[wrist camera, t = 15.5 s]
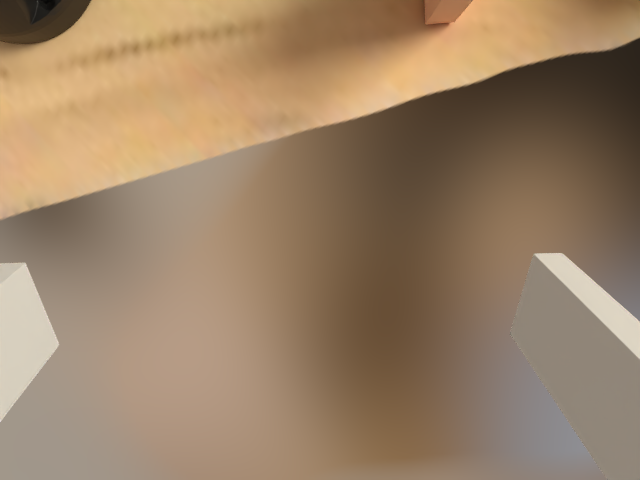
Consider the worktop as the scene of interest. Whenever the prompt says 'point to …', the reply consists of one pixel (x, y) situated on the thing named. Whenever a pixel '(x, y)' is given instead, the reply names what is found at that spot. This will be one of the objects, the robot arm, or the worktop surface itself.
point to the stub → (444, 10)
